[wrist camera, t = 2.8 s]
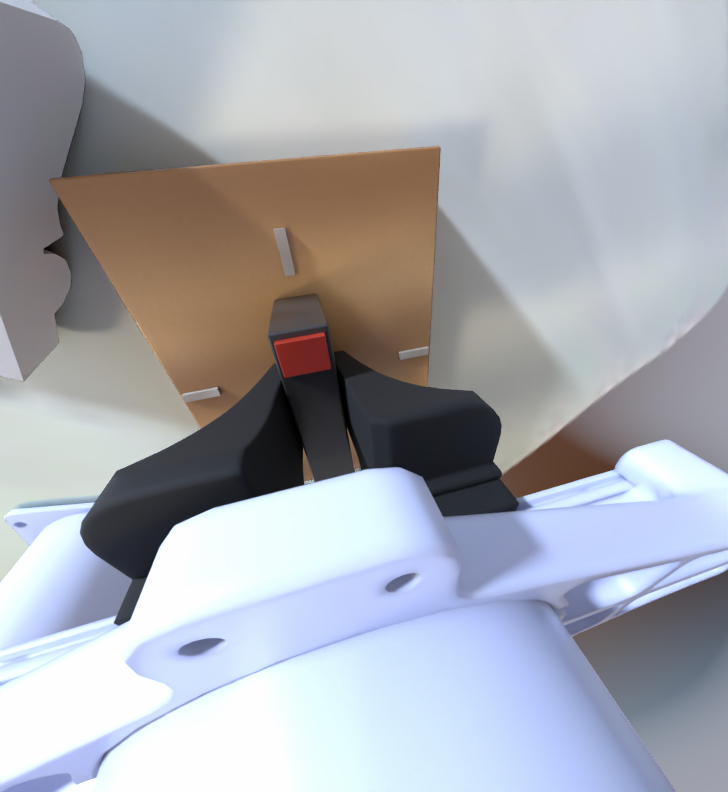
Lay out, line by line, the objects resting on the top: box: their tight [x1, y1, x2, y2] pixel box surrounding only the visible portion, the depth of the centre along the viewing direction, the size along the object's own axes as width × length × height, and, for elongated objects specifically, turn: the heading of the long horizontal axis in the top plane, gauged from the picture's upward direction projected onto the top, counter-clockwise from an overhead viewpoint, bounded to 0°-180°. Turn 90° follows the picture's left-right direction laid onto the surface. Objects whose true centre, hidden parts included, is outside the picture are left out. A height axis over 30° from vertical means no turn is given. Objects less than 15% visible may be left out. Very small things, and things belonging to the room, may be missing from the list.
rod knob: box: [267, 293, 355, 482], centre depth 10 cm, size 6×2×4 cm, turn 6°
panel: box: [49, 146, 441, 481], centre depth 13 cm, size 14×11×3 cm
